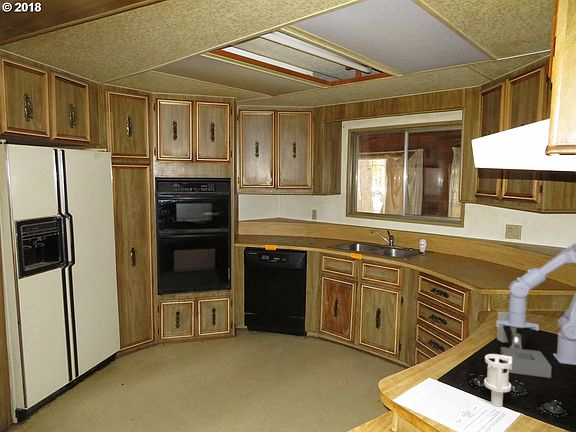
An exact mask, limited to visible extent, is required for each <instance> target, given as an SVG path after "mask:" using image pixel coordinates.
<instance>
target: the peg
mask: <svg viewBox="0 0 576 432" xmlns="http://www.w3.org/2000/svg"><path fill="white" fill-rule="evenodd" d="M509 348H515V349H523V348H522V333H521V334H520V333H517V332H516V333H512V334H511V346H509Z"/></svg>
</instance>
